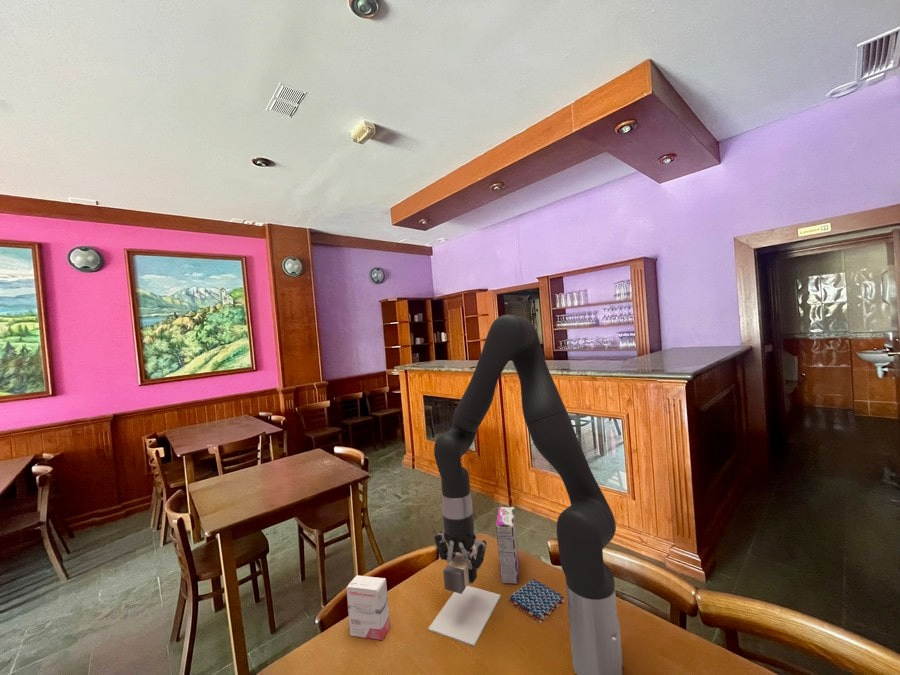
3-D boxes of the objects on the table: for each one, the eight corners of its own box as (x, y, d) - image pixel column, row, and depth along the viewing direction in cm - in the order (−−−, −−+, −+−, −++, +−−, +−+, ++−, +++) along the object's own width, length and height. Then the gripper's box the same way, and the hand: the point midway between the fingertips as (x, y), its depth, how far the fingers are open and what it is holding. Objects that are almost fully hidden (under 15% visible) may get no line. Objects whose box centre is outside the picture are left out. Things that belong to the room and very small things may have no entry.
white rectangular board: (500, 596, 96) (500, 594, 96) (474, 646, 81) (474, 644, 81) (460, 585, 102) (460, 583, 102) (428, 630, 87) (428, 628, 87)
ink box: (391, 625, 89) (387, 577, 89) (382, 641, 85) (378, 590, 85) (359, 620, 92) (356, 573, 92) (349, 636, 87) (345, 586, 87)
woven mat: (507, 603, 94) (506, 595, 94) (533, 584, 101) (532, 576, 101) (540, 626, 86) (539, 618, 86) (566, 603, 93) (565, 595, 93)
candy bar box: (502, 559, 112) (498, 506, 112) (519, 560, 111) (514, 506, 111) (500, 584, 101) (495, 524, 101) (518, 585, 100) (513, 525, 100)
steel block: (480, 546, 96) (459, 574, 85) (481, 564, 96) (461, 594, 85) (464, 543, 98) (443, 570, 88) (466, 560, 98) (444, 589, 88)
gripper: (489, 508, 91) (495, 576, 91) (440, 500, 98) (445, 564, 98) (477, 522, 85) (483, 596, 85) (425, 513, 91) (430, 581, 91)
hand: (462, 578), depth 91 cm, fingers closed on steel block, 4 cm apart
